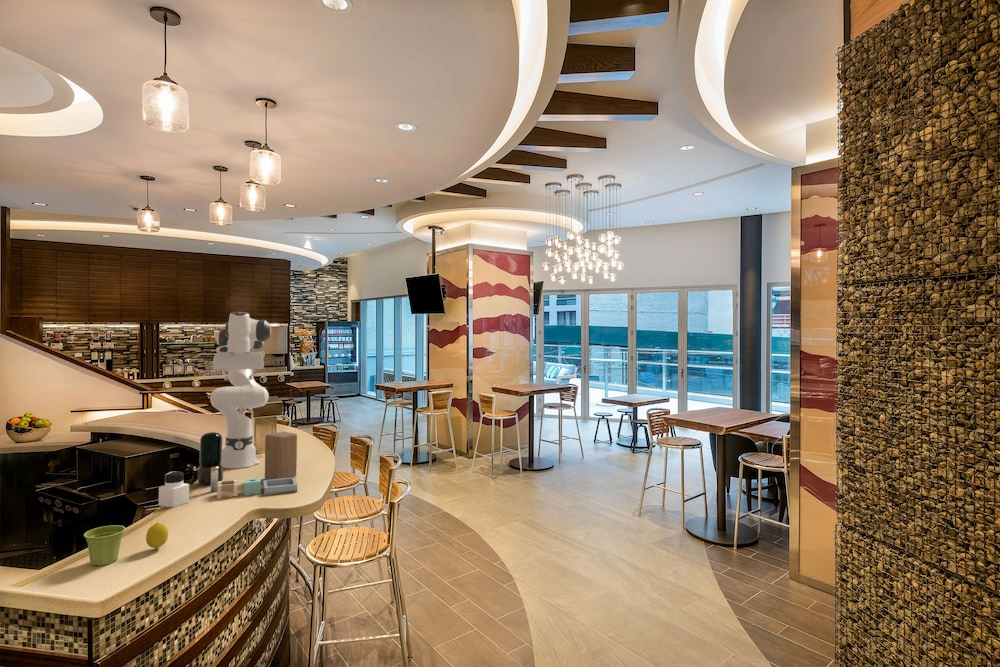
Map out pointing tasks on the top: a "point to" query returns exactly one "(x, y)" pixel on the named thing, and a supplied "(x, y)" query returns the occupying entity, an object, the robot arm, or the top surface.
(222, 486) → the wide bore block
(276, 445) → the block
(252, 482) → the narrow bore block
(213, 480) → the cylinder
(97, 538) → the plant pot
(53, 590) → the top surface
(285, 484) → the tray
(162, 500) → the medicine bottle
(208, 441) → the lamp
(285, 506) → the top surface
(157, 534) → the lemon
